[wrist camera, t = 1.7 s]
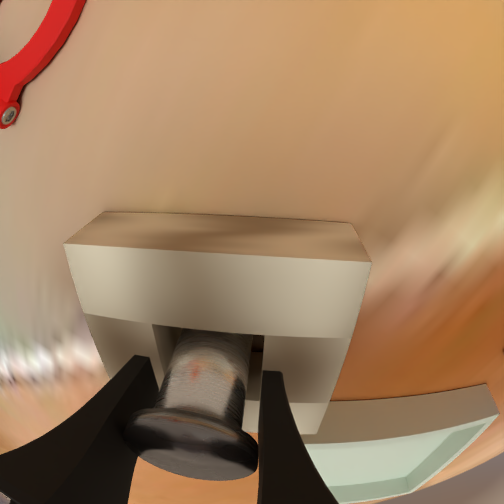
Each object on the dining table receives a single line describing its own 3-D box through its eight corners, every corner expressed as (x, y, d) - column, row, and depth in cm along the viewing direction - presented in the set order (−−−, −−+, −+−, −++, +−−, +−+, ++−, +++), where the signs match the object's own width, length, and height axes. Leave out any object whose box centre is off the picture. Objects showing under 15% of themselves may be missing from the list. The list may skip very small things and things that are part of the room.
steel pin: (270, 283, 13) (261, 437, 6) (265, 353, 15) (255, 485, 8) (172, 276, 13) (104, 411, 7) (182, 345, 15) (142, 467, 9)
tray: (486, 383, 16) (500, 413, 13) (407, 470, 23) (412, 492, 20) (279, 400, 16) (278, 443, 14) (264, 480, 24) (262, 505, 21)
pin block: (350, 223, 11) (372, 262, 8) (313, 389, 16) (316, 434, 13) (103, 212, 12) (63, 243, 9) (142, 373, 16) (126, 411, 14)
